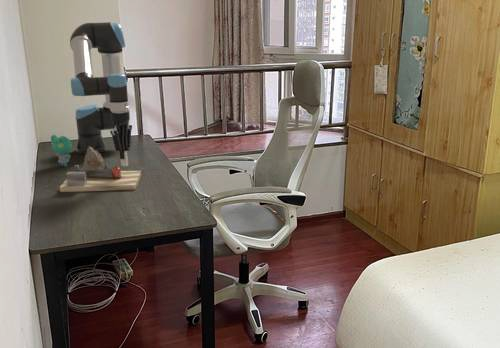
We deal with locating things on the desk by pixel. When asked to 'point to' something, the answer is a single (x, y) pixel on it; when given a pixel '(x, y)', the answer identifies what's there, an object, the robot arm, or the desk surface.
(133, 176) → the board
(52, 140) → the toy
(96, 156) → the rock
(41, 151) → the desk surface
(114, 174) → the lever
